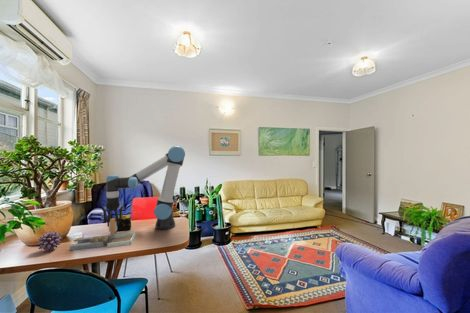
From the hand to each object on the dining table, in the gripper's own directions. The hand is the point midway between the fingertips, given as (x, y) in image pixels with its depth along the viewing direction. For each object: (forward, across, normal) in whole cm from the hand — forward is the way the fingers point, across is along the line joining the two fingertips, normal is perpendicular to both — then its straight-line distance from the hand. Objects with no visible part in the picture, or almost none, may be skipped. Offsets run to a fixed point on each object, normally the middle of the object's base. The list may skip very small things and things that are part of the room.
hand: (113, 230), depth 146 cm
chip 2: (+4, +2, +12) cm, 13 cm away
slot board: (+5, +8, +12) cm, 15 cm away
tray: (+5, -8, +12) cm, 15 cm away
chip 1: (+4, +7, +12) cm, 14 cm away
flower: (+5, +31, +12) cm, 34 cm away
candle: (+5, -3, -16) cm, 17 cm away
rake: (+5, 0, 0) cm, 5 cm away
